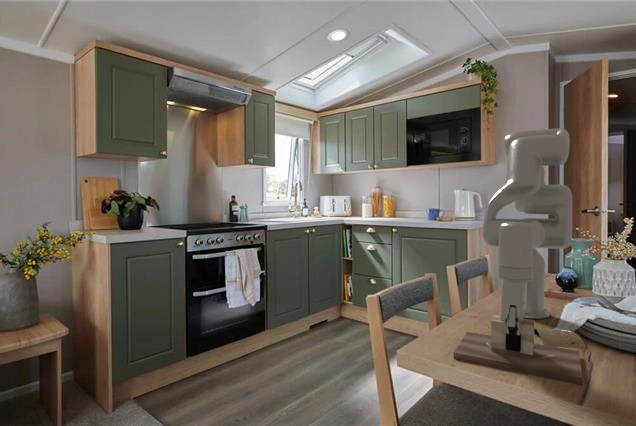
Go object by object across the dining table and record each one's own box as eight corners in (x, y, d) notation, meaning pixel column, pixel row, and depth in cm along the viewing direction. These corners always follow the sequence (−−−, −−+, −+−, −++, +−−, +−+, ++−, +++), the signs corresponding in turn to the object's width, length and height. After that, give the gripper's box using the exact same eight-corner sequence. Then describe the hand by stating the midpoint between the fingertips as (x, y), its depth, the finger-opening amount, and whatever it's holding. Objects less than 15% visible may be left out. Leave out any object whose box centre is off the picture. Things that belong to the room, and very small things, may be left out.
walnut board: (466, 337, 108) (466, 331, 108) (578, 356, 94) (578, 350, 94) (453, 358, 95) (453, 352, 95) (582, 385, 81) (582, 378, 81)
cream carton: (493, 343, 99) (494, 314, 99) (533, 350, 95) (534, 320, 94) (491, 350, 95) (491, 320, 95) (533, 358, 91) (533, 326, 90)
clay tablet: (526, 330, 114) (526, 321, 114) (563, 332, 113) (564, 323, 112) (546, 350, 100) (546, 340, 100) (589, 352, 98) (589, 342, 98)
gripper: (502, 265, 103) (501, 332, 104) (493, 278, 88) (492, 356, 89) (534, 268, 99) (533, 337, 100) (531, 281, 85) (529, 363, 86)
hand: (514, 345), depth 95 cm, fingers closed on cream carton, 5 cm apart
